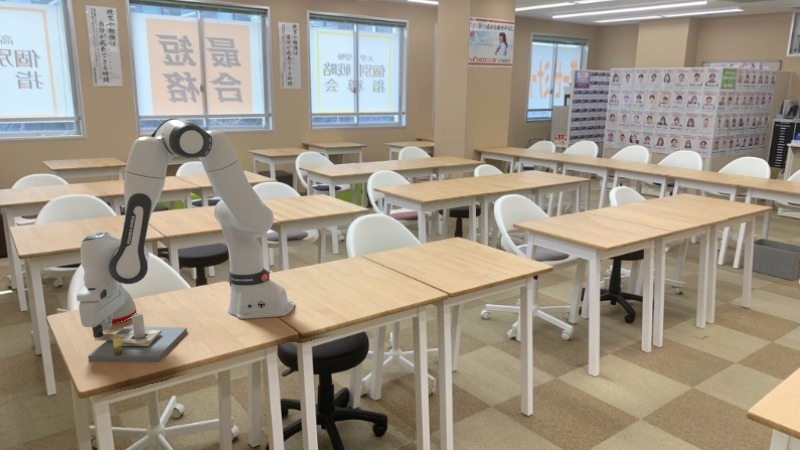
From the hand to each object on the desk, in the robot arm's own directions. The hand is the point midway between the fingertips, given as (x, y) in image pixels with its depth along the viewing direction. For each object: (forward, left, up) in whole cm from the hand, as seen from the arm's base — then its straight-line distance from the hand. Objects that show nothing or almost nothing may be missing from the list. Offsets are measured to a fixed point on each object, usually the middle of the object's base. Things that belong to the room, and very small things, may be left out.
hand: (107, 329), depth 169 cm
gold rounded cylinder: (-10, +13, -2) cm, 17 cm away
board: (-12, +4, -3) cm, 13 cm away
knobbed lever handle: (-8, +4, -1) cm, 9 cm away
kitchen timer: (+8, -18, -4) cm, 19 cm away
